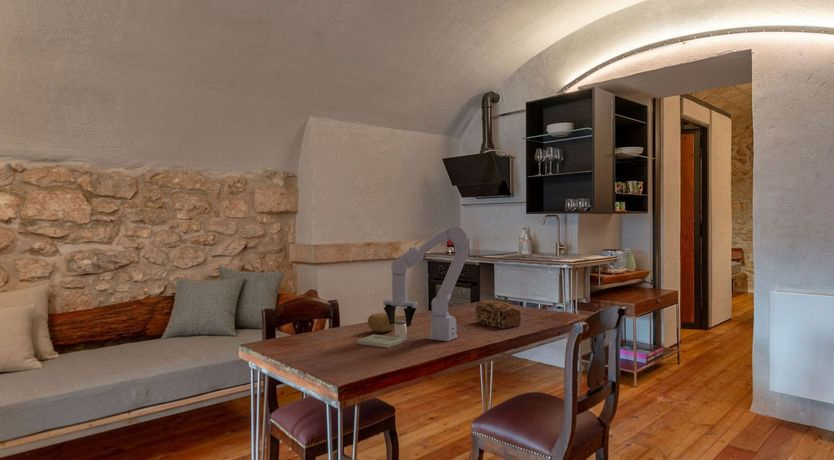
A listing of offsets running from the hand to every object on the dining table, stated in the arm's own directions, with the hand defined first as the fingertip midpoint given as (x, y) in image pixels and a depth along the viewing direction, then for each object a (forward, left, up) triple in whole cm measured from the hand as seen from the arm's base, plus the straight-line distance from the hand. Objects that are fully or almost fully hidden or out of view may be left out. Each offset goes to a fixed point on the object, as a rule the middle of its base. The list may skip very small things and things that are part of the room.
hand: (400, 325), depth 192 cm
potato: (+14, -8, -6) cm, 17 cm away
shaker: (0, 0, -5) cm, 5 cm away
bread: (-22, -42, -6) cm, 48 cm away
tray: (+3, +9, -5) cm, 11 cm away
